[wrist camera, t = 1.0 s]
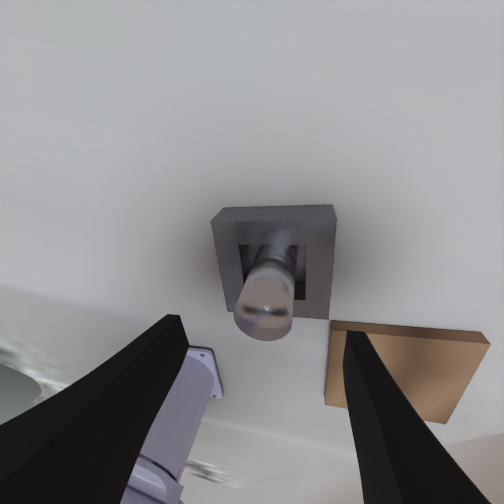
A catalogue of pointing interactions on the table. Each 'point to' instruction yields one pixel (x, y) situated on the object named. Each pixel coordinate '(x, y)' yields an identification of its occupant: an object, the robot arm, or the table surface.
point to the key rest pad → (413, 364)
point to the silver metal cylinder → (268, 294)
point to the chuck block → (279, 233)
